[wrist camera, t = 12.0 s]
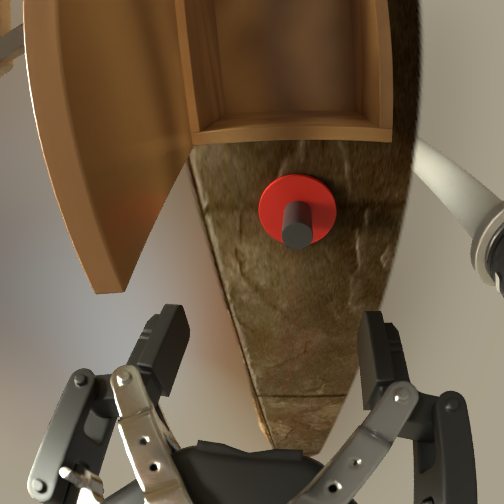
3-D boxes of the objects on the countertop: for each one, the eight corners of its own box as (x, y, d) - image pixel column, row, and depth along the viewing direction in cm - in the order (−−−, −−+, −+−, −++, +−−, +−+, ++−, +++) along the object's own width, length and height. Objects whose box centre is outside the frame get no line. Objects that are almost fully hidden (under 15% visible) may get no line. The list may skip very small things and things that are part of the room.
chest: (347, -61, 12) (365, -103, 6) (364, 120, 21) (392, 142, 15) (201, -53, 14) (165, -88, 8) (219, 123, 23) (189, 146, 17)
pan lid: (327, 165, 24) (332, 185, 20) (341, 234, 27) (347, 264, 24) (249, 183, 26) (240, 206, 22) (271, 248, 29) (266, 278, 25)
